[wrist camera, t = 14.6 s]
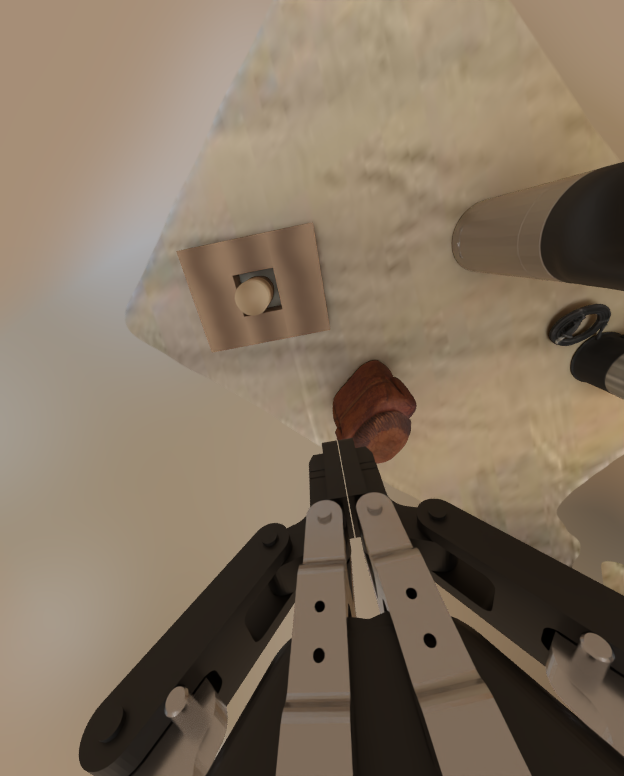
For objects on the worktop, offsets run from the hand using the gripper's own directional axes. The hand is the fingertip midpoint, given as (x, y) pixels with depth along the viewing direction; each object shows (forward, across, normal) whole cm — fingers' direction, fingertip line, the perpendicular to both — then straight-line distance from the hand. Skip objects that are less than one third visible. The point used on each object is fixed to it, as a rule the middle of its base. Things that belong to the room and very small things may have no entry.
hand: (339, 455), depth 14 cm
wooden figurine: (+35, -6, +14) cm, 38 cm away
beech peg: (+35, +7, -5) cm, 36 cm away
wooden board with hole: (+35, +7, -5) cm, 36 cm away
